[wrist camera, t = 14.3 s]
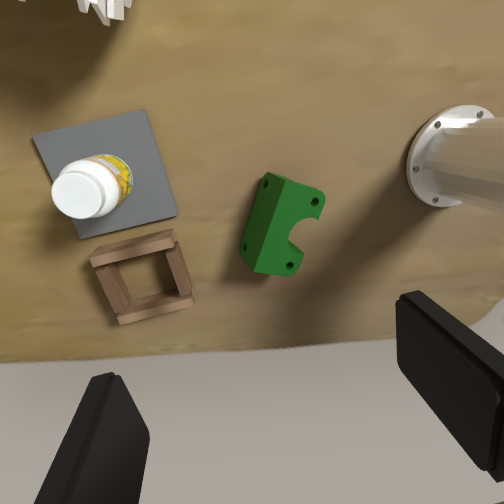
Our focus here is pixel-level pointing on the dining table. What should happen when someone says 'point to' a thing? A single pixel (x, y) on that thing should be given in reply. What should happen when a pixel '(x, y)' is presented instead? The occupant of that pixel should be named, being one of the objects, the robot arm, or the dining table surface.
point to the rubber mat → (128, 150)
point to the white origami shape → (105, 8)
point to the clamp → (278, 224)
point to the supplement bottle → (92, 186)
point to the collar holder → (117, 288)
